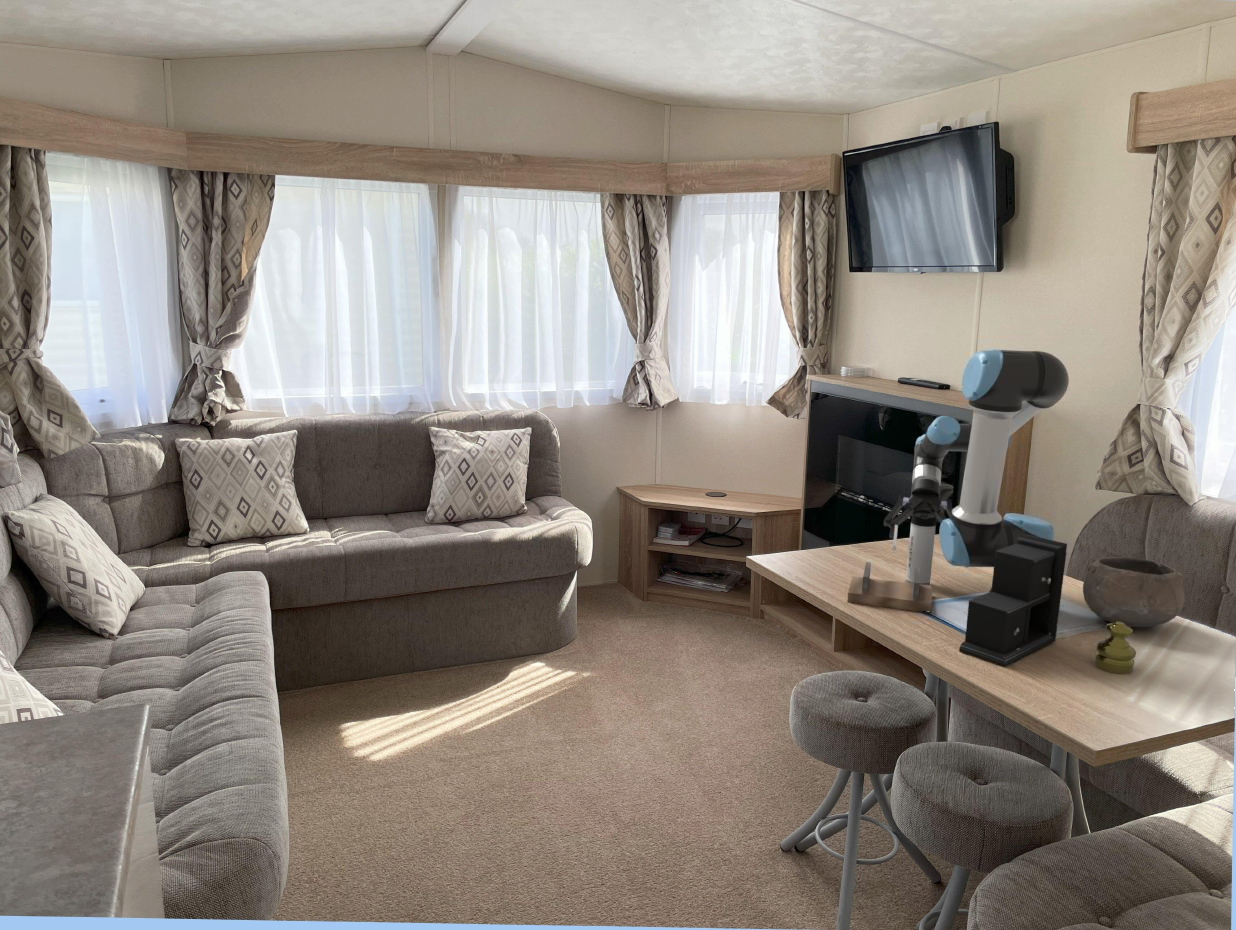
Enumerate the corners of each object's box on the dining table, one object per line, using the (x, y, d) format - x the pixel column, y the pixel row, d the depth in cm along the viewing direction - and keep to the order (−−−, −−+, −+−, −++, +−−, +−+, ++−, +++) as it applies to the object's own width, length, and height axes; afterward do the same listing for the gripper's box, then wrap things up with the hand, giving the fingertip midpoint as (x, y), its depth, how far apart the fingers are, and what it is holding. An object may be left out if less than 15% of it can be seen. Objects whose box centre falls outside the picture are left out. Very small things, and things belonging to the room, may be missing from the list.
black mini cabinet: (1004, 668, 190) (1017, 561, 186) (957, 651, 198) (968, 548, 194) (1056, 643, 205) (1069, 543, 200) (1010, 628, 213) (1021, 532, 208)
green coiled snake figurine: (1123, 677, 187) (1129, 632, 185) (1087, 665, 193) (1093, 620, 191) (1140, 669, 191) (1146, 624, 189) (1104, 657, 197) (1110, 614, 195)
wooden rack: (930, 595, 235) (932, 569, 234) (930, 612, 222) (933, 585, 220) (851, 585, 241) (853, 560, 240) (847, 601, 228) (849, 575, 227)
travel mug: (929, 581, 246) (936, 510, 242) (929, 588, 240) (936, 515, 236) (905, 578, 248) (912, 507, 244) (905, 585, 242) (911, 513, 238)
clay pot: (1064, 620, 219) (1072, 560, 216) (1101, 602, 233) (1108, 546, 230) (1159, 647, 204) (1168, 584, 201) (1192, 627, 217) (1202, 567, 214)
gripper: (972, 496, 250) (969, 563, 239) (879, 488, 258) (872, 552, 247) (975, 481, 244) (972, 549, 233) (879, 473, 252) (872, 538, 241)
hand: (920, 551), depth 240 cm, fingers open, 13 cm apart
